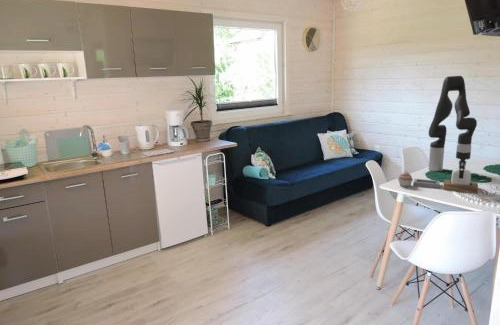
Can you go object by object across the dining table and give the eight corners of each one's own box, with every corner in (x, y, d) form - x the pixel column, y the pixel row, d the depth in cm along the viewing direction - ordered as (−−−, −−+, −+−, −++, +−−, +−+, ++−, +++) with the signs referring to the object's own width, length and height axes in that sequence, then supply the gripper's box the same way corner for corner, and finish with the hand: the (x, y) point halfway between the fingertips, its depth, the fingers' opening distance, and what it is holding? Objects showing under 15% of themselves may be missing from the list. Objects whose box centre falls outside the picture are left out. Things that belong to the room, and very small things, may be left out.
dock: (444, 184, 232) (444, 179, 231) (477, 187, 223) (477, 182, 222) (443, 189, 223) (443, 184, 222) (477, 193, 214) (477, 187, 213)
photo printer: (469, 188, 223) (471, 169, 220) (470, 190, 219) (472, 170, 216) (450, 186, 227) (451, 168, 224) (450, 189, 223) (452, 169, 220)
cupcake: (399, 182, 240) (400, 168, 238) (414, 184, 234) (415, 170, 232) (395, 186, 233) (395, 171, 231) (410, 188, 227) (411, 173, 225)
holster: (414, 182, 240) (415, 178, 239) (439, 184, 232) (439, 180, 232) (413, 185, 233) (413, 182, 232) (438, 188, 225) (438, 184, 225)
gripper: (457, 148, 225) (454, 172, 229) (456, 152, 213) (453, 178, 217) (471, 148, 221) (468, 174, 225) (470, 153, 209) (468, 180, 213)
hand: (461, 176), depth 221 cm, fingers open, 8 cm apart
